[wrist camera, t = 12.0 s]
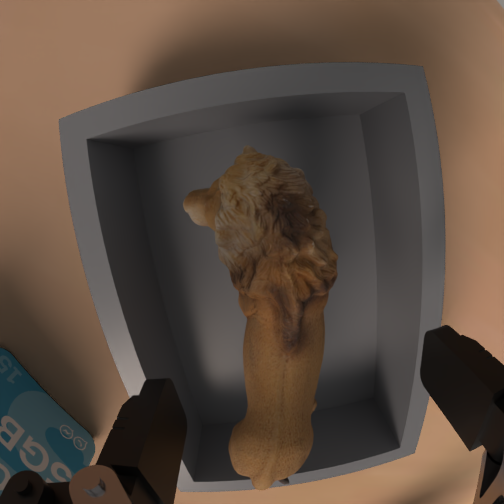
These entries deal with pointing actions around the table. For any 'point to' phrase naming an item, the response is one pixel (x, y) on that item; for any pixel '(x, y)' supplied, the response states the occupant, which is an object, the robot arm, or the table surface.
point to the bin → (217, 274)
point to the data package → (37, 429)
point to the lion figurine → (272, 304)
